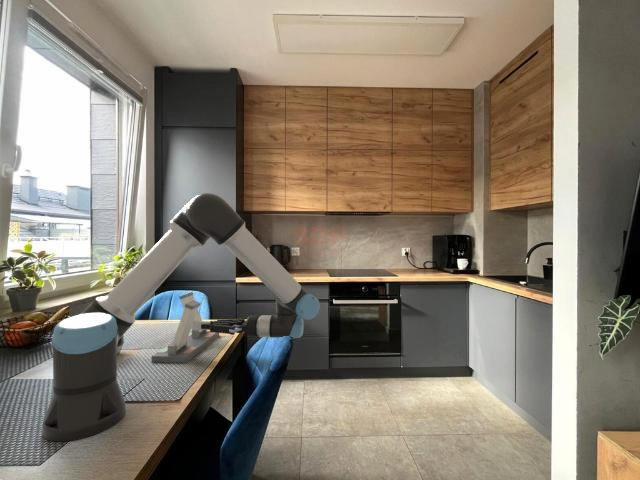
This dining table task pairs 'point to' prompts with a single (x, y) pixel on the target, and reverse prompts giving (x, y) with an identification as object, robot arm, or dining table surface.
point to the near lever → (185, 324)
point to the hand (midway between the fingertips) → (193, 325)
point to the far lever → (189, 298)
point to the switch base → (185, 348)
